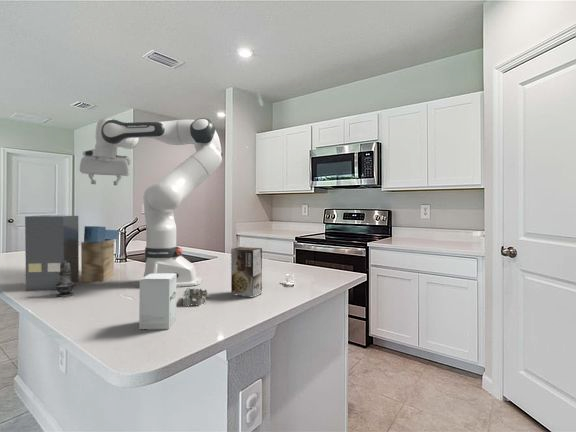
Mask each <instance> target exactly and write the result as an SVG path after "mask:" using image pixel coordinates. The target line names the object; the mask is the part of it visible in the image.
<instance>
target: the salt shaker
mask: <svg viewBox="0 0 576 432" xmlns="http://www.w3.org/2000/svg"><path fill="white" fill-rule="evenodd" d="M71 273H72V272H70V263H68V262H66V260H64V262H63V263H61V264H60V273H59V275H60V281H59V283H58V284H56V285H55V287H56V290H55V291H56V292H58V293H57V294H56V295H55V297H56V298H68V297H67V296H69V297H72V295H73V296H74V295H75V294H76V293H75V292H73V290H74V289H75V287H76V284H77V283H73V282H72V281H71Z"/></svg>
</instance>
